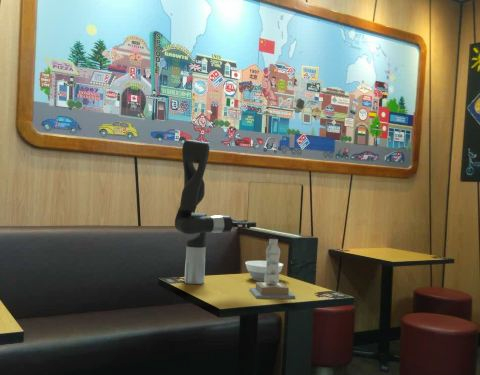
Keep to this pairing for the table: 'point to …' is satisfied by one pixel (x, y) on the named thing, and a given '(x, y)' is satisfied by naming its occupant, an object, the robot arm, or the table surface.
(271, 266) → the plastic bottle
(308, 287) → the table surface
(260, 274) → the bowl
